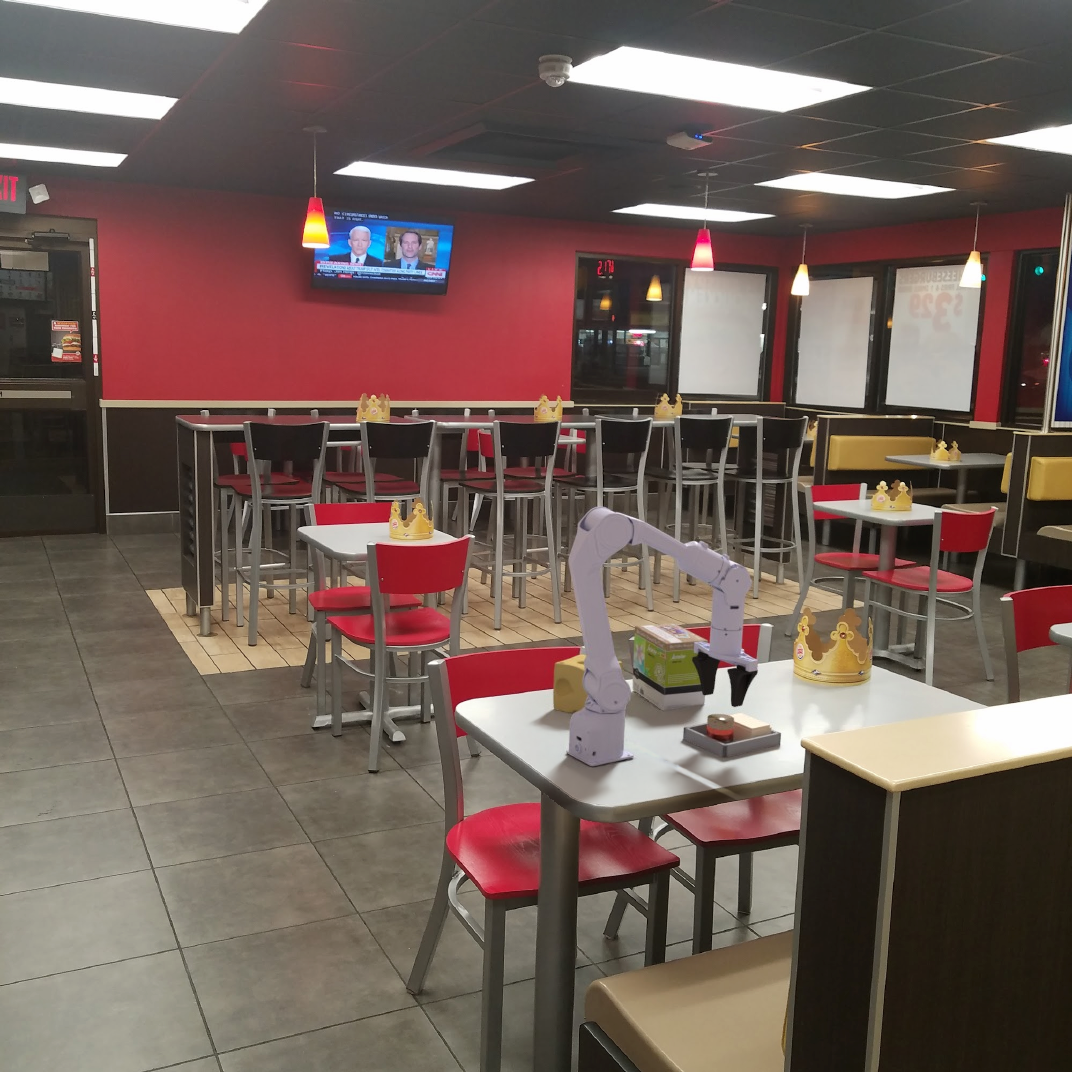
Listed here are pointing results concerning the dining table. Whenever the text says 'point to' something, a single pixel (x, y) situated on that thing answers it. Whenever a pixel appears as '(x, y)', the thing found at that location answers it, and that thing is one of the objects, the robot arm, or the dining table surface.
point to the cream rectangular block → (749, 727)
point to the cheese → (570, 684)
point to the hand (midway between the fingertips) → (722, 700)
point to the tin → (720, 728)
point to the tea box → (666, 666)
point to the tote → (699, 738)
